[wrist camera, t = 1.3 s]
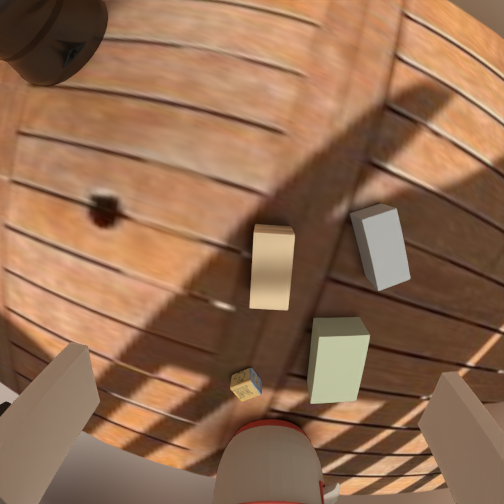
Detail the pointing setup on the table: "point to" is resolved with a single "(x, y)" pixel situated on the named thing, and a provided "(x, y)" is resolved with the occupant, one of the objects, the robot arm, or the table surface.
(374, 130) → the table surface
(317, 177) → the table surface
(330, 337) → the sage brick
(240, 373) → the alphabet block
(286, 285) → the maple brick
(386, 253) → the slate brick
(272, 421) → the citrus juicer
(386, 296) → the table surface
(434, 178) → the table surface
